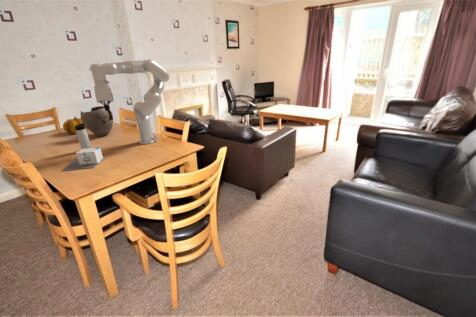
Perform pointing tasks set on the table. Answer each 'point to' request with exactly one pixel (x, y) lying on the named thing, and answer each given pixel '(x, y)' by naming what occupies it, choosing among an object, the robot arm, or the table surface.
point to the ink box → (89, 156)
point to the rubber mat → (78, 166)
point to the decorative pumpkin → (72, 125)
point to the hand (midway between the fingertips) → (107, 110)
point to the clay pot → (98, 120)
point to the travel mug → (82, 136)
